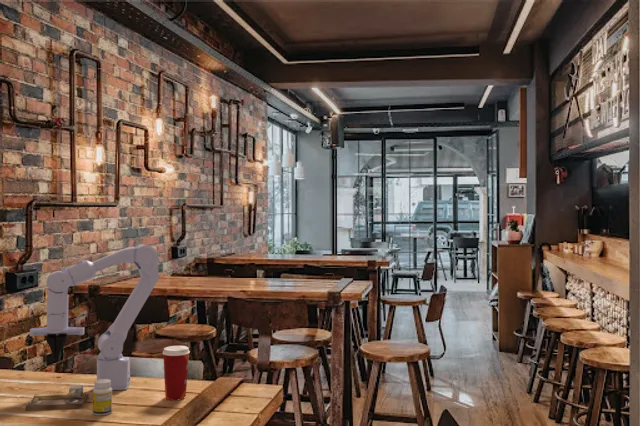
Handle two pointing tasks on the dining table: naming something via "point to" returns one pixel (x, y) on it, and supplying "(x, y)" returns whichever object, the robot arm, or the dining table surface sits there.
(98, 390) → the supplement bottle
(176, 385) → the paper cup
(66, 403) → the wooden mechanism board
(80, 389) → the sliding leg
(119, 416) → the dining table surface
